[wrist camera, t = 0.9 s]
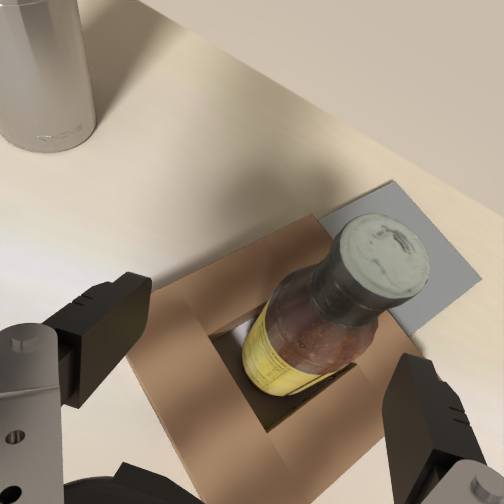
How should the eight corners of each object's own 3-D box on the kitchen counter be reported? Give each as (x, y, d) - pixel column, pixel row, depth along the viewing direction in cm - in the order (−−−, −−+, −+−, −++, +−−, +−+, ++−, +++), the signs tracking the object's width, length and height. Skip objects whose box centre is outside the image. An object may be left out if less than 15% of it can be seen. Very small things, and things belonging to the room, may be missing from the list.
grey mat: (314, 225, 41) (317, 219, 40) (390, 186, 46) (394, 180, 45) (403, 339, 37) (409, 336, 36) (475, 282, 42) (482, 278, 41)
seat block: (111, 329, 31) (106, 315, 28) (299, 232, 40) (311, 213, 37) (230, 555, 26) (240, 567, 23) (418, 389, 35) (443, 381, 32)
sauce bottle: (303, 324, 35) (443, 193, 18) (314, 397, 32) (492, 323, 15) (232, 325, 34) (311, 183, 17) (236, 402, 31) (338, 325, 14)
